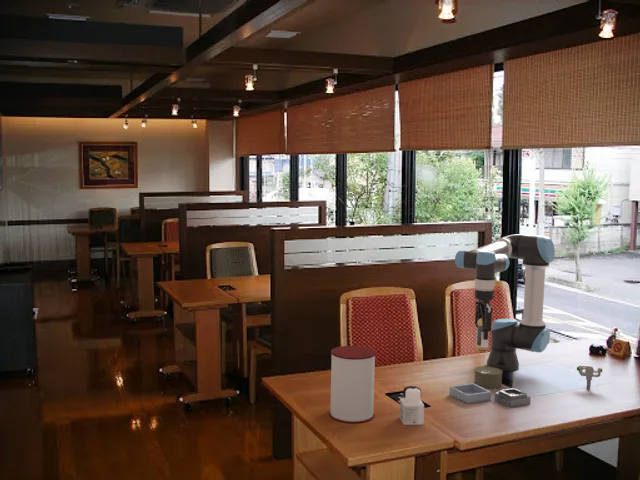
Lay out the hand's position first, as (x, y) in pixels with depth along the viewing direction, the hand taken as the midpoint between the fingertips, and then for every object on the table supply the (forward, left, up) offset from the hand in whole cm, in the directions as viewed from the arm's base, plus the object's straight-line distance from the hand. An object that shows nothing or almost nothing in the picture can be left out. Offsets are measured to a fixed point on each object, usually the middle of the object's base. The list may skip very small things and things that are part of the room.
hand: (481, 344), depth 281 cm
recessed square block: (+8, +10, -23) cm, 26 cm away
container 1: (-4, -58, -23) cm, 62 cm away
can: (-13, +15, -23) cm, 30 cm away
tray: (-3, -3, -23) cm, 23 cm away
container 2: (+10, -40, -23) cm, 47 cm away
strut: (0, 0, -2) cm, 2 cm away
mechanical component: (+8, +52, -23) cm, 58 cm away
